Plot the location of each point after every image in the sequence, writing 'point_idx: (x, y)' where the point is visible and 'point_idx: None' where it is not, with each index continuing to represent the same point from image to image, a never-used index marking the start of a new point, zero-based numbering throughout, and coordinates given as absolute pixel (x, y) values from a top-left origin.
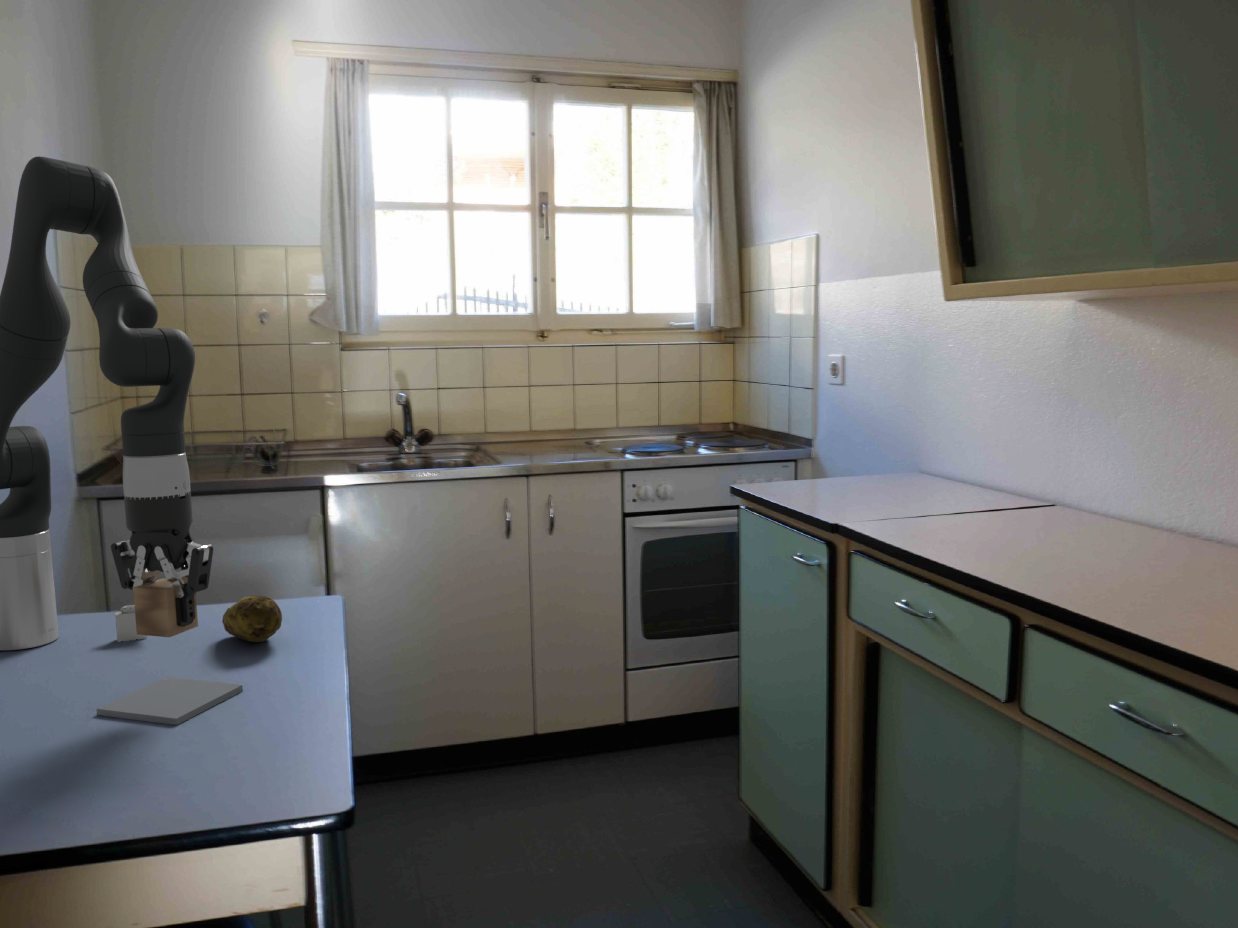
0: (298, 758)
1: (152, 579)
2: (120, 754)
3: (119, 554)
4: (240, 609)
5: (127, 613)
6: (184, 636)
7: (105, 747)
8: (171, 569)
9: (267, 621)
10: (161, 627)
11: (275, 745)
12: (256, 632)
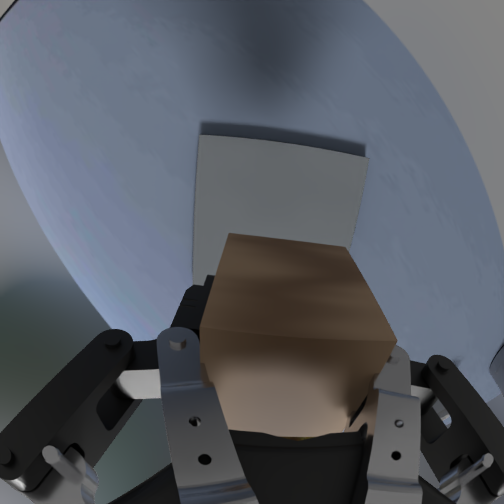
0: (17, 103)
1: (356, 416)
2: (215, 25)
3: (495, 454)
4: (288, 438)
5: (443, 410)
6: None
7: (257, 39)
8: (167, 428)
9: None
10: (255, 247)
11: (45, 119)
12: None
